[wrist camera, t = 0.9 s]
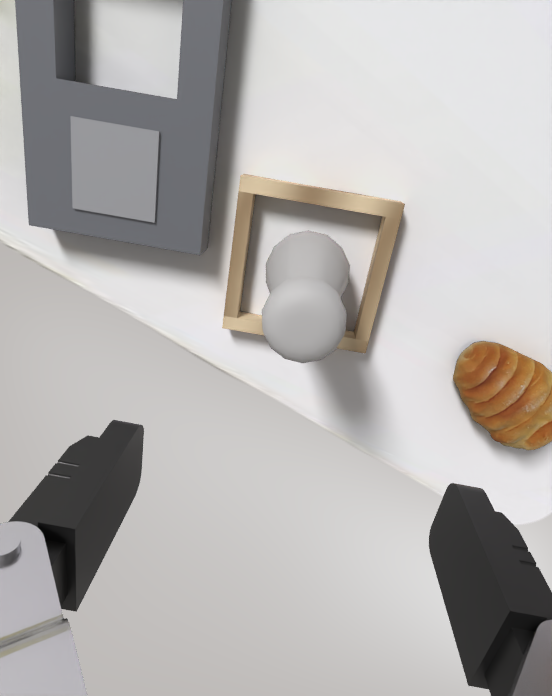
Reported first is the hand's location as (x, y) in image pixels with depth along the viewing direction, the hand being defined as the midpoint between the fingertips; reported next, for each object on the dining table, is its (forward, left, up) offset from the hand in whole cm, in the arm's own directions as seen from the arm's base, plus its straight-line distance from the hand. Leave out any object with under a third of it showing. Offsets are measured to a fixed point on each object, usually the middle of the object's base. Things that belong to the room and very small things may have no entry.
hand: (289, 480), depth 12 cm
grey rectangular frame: (+13, -9, -24) cm, 29 cm away
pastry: (-18, +7, -25) cm, 31 cm away
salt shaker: (0, 0, -24) cm, 24 cm away
